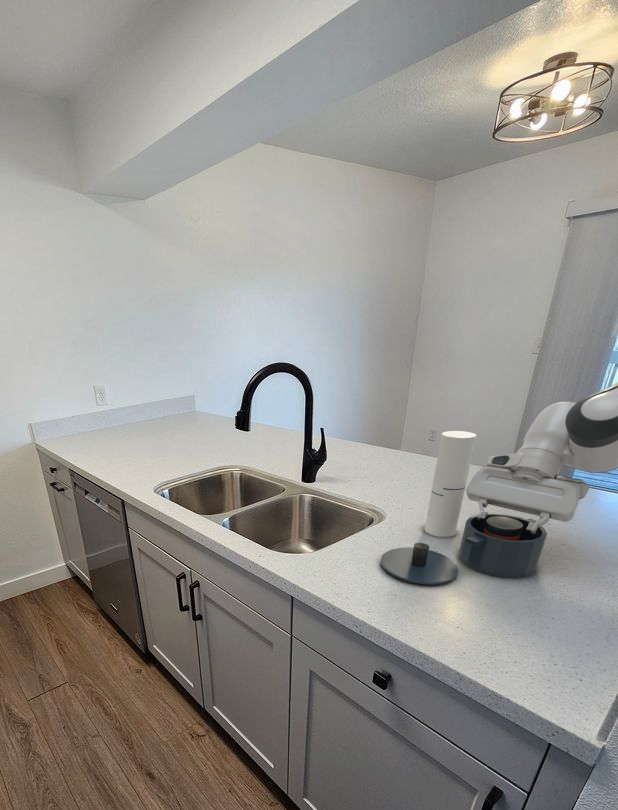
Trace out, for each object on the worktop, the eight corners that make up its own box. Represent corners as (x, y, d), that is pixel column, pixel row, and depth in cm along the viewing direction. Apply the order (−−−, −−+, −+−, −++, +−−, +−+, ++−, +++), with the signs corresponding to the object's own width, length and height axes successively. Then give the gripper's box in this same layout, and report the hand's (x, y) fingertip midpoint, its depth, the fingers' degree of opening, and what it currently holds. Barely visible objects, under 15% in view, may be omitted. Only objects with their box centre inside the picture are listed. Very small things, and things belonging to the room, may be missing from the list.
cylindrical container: (453, 539, 108) (475, 439, 97) (422, 533, 111) (440, 436, 100) (456, 528, 113) (477, 432, 102) (426, 523, 117) (443, 429, 105)
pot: (559, 564, 95) (571, 529, 91) (495, 588, 88) (505, 551, 84) (496, 538, 107) (504, 506, 103) (436, 557, 100) (442, 524, 96)
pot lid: (473, 575, 93) (479, 552, 90) (418, 594, 88) (423, 570, 85) (416, 545, 106) (420, 525, 103) (365, 561, 101) (368, 539, 98)
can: (519, 562, 96) (530, 525, 92) (498, 569, 93) (508, 531, 89) (491, 549, 101) (500, 514, 97) (470, 556, 99) (479, 520, 95)
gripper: (592, 489, 89) (563, 547, 88) (484, 469, 103) (458, 519, 102) (593, 473, 85) (563, 534, 84) (480, 455, 99) (453, 507, 98)
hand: (504, 525), depth 93 cm, fingers open, 8 cm apart
